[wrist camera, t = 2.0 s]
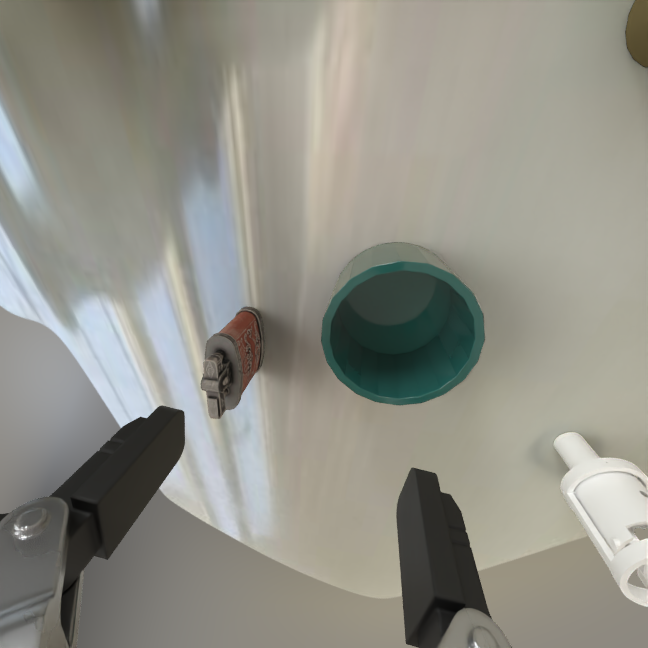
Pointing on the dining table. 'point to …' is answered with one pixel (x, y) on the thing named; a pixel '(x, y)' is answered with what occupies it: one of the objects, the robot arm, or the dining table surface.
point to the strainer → (608, 509)
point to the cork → (638, 32)
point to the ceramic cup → (401, 326)
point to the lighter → (232, 361)
